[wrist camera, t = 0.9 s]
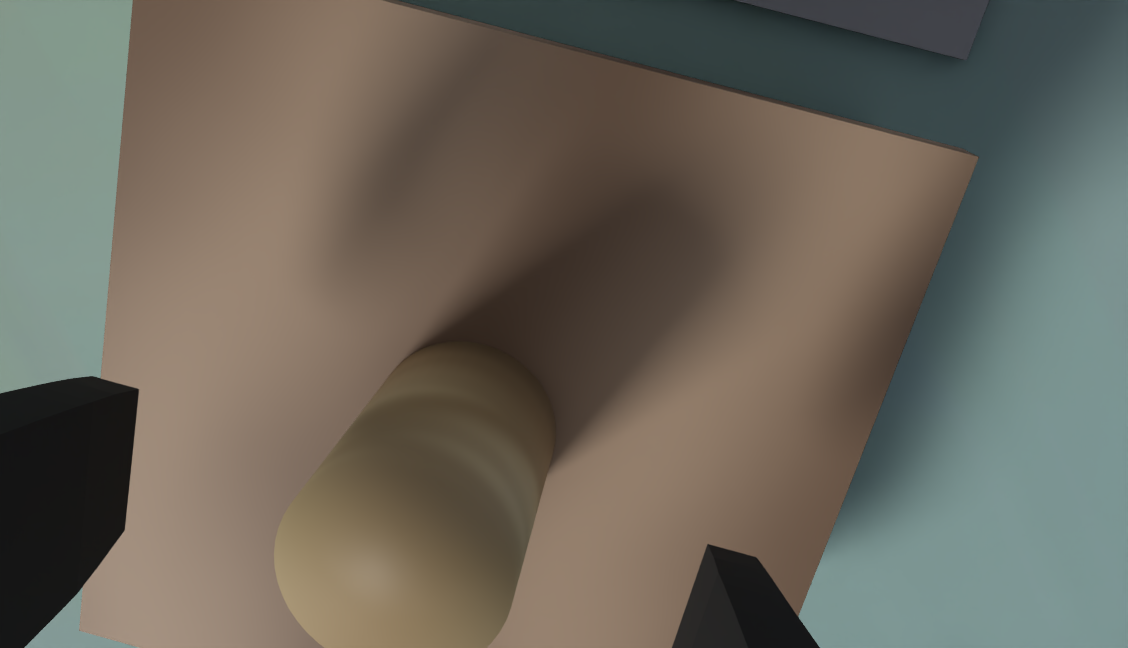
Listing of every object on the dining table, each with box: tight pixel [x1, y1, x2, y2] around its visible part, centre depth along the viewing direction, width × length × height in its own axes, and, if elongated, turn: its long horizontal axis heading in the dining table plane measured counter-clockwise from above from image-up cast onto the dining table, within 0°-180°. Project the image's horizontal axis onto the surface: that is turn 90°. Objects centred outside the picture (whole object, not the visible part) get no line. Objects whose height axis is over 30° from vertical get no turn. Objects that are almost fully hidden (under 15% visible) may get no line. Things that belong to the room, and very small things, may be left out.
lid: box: [79, 0, 979, 648], centre depth 13 cm, size 12×12×5 cm
